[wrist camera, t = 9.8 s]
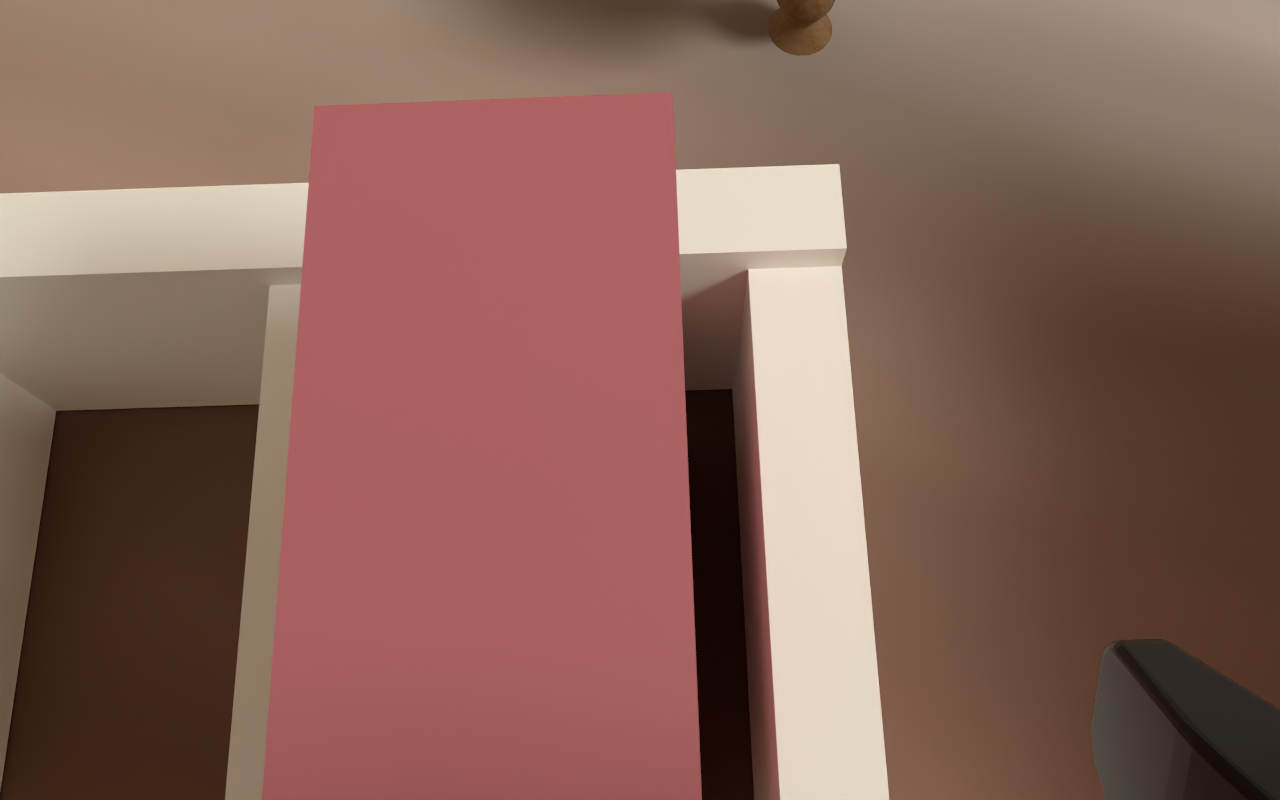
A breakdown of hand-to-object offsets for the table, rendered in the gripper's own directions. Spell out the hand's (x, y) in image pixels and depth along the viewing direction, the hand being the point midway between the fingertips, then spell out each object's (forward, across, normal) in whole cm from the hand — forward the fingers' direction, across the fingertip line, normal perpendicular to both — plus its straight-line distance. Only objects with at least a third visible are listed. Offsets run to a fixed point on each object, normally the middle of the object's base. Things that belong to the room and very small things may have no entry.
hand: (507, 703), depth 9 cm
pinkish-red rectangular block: (+8, 0, +5) cm, 9 cm away
